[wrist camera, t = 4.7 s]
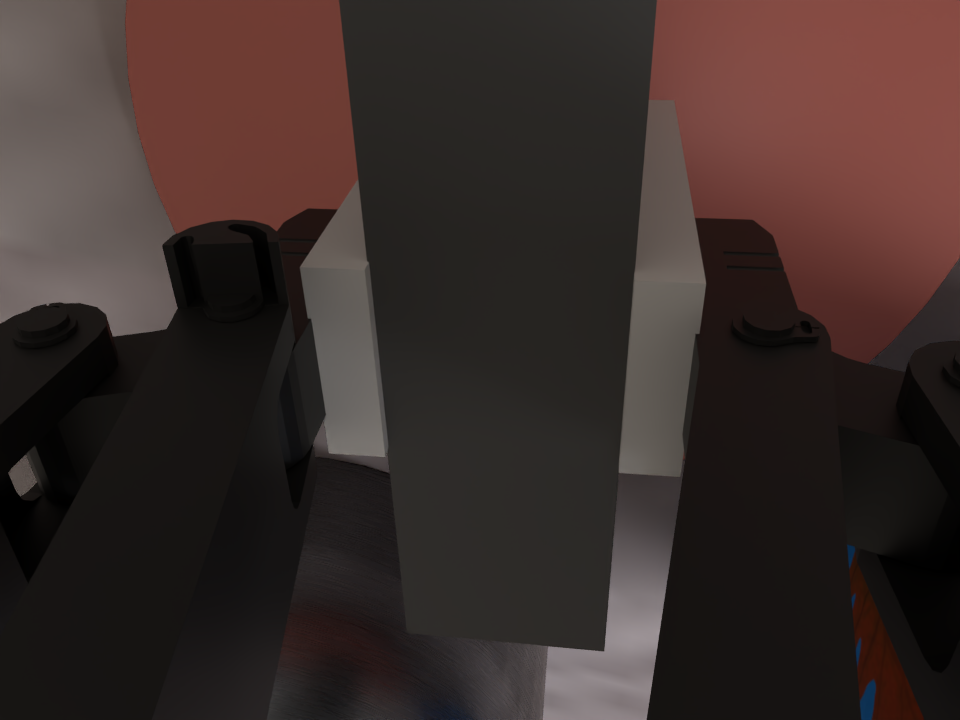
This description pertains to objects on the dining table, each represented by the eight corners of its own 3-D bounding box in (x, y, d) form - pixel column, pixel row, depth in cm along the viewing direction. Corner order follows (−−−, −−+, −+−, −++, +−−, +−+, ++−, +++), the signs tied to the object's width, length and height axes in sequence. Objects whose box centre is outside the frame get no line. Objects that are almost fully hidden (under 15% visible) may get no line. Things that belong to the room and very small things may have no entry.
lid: (1152, -456, 13) (2046, -861, 5) (882, 457, 22) (1030, 833, 14) (57, -389, 15) (-591, -591, 7) (237, 416, 24) (50, 723, 16)
